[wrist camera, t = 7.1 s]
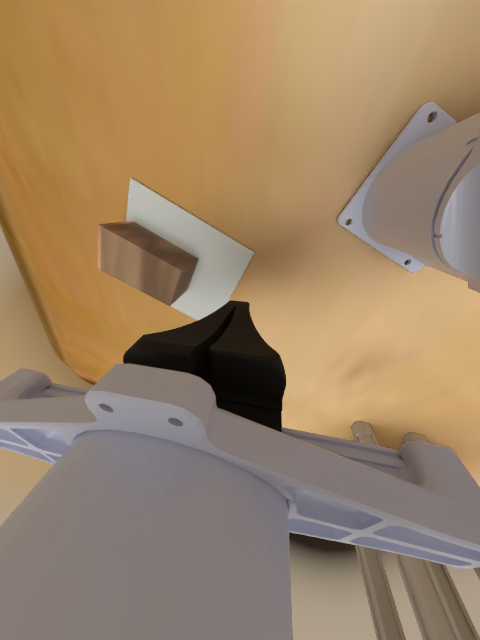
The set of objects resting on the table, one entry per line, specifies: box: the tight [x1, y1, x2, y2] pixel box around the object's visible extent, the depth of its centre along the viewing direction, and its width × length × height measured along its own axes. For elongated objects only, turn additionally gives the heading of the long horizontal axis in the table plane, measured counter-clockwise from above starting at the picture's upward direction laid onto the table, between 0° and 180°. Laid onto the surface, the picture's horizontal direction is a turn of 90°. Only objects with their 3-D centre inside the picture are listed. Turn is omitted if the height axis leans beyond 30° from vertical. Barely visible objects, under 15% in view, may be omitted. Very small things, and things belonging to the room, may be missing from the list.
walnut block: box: [98, 221, 199, 306], centre depth 19 cm, size 4×4×8 cm
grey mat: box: [126, 178, 255, 320], centre depth 21 cm, size 14×12×1 cm
